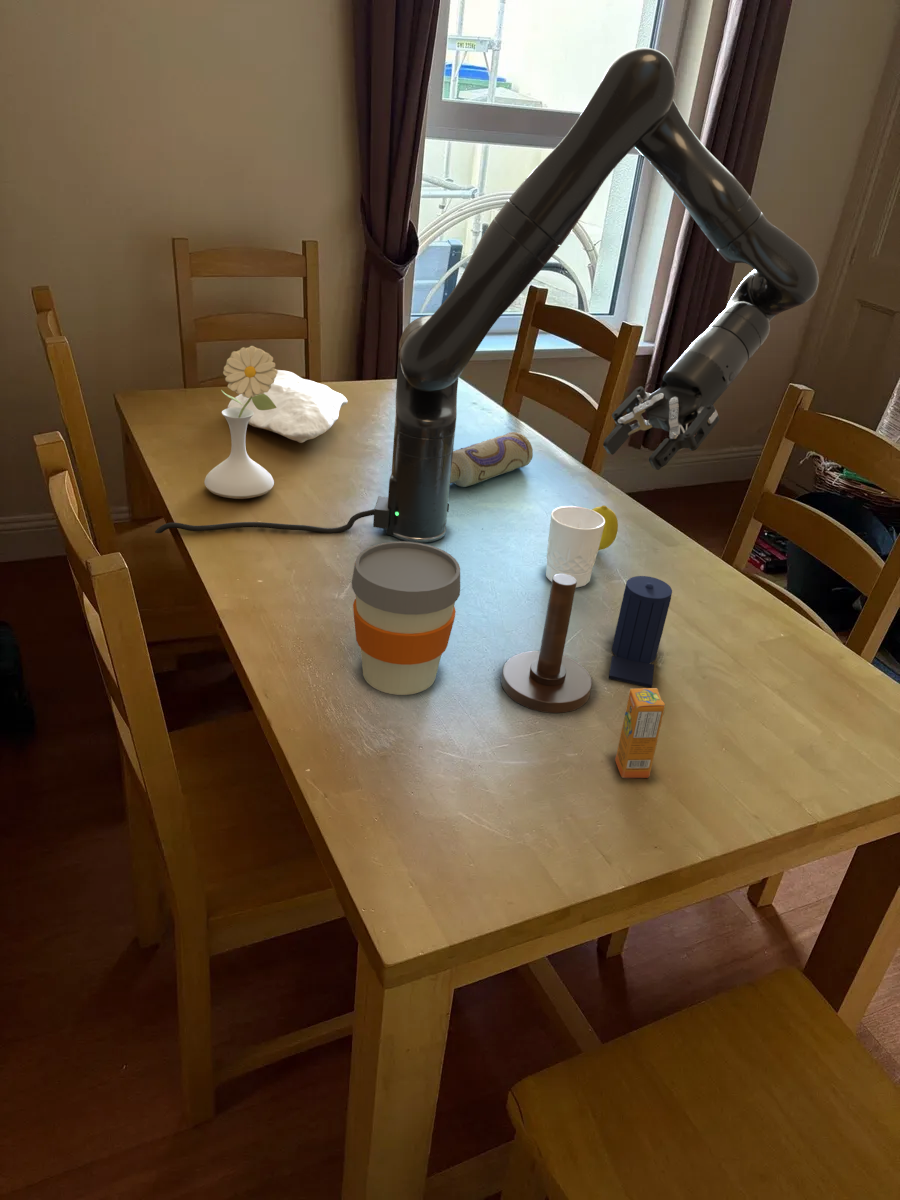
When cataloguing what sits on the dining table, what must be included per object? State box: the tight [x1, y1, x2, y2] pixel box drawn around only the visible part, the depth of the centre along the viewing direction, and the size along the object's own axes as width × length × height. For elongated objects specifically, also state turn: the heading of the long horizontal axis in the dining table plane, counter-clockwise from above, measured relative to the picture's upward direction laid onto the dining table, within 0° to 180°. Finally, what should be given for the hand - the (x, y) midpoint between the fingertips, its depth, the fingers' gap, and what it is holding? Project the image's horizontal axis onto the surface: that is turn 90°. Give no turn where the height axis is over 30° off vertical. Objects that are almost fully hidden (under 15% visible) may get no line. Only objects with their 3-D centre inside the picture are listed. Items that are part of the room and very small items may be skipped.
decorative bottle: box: [450, 431, 534, 488], centre depth 162 cm, size 26×8×7 cm, turn 136°
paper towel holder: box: [500, 574, 593, 714], centre depth 106 cm, size 11×11×15 cm
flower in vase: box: [203, 345, 278, 500], centre depth 144 cm, size 13×11×25 cm
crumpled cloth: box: [227, 369, 348, 444], centre depth 177 cm, size 24×35×9 cm
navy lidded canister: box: [608, 575, 673, 688], centre depth 113 cm, size 10×6×10 cm, turn 166°
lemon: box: [591, 505, 619, 552], centre depth 141 cm, size 6×6×8 cm
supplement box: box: [614, 687, 666, 779], centre depth 95 cm, size 3×3×10 cm
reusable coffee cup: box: [351, 540, 461, 696], centre depth 105 cm, size 13×13×15 cm
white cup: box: [545, 505, 605, 588], centre depth 132 cm, size 8×8×10 cm
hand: (629, 457), depth 117 cm, fingers open, 8 cm apart
